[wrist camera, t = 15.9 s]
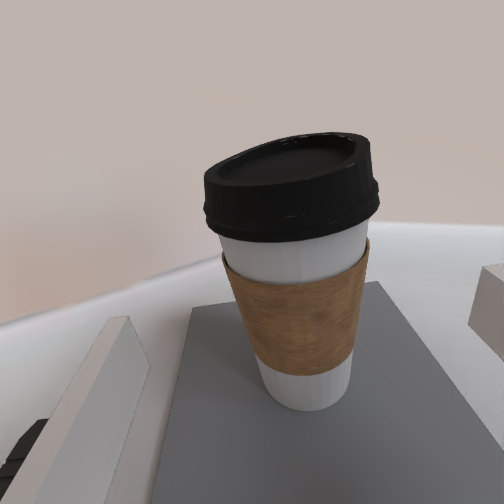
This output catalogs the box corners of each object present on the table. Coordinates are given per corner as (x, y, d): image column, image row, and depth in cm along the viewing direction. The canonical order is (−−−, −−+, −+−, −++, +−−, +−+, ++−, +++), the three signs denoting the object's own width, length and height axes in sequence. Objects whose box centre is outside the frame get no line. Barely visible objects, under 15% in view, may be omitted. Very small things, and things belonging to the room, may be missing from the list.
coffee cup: (392, 363, 20) (417, 128, 13) (321, 467, 16) (301, 186, 8) (294, 314, 26) (275, 132, 19) (220, 380, 21) (157, 169, 14)
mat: (377, 287, 29) (377, 281, 29) (546, 525, 13) (552, 517, 13) (194, 314, 30) (192, 307, 29) (143, 570, 14) (137, 563, 13)
